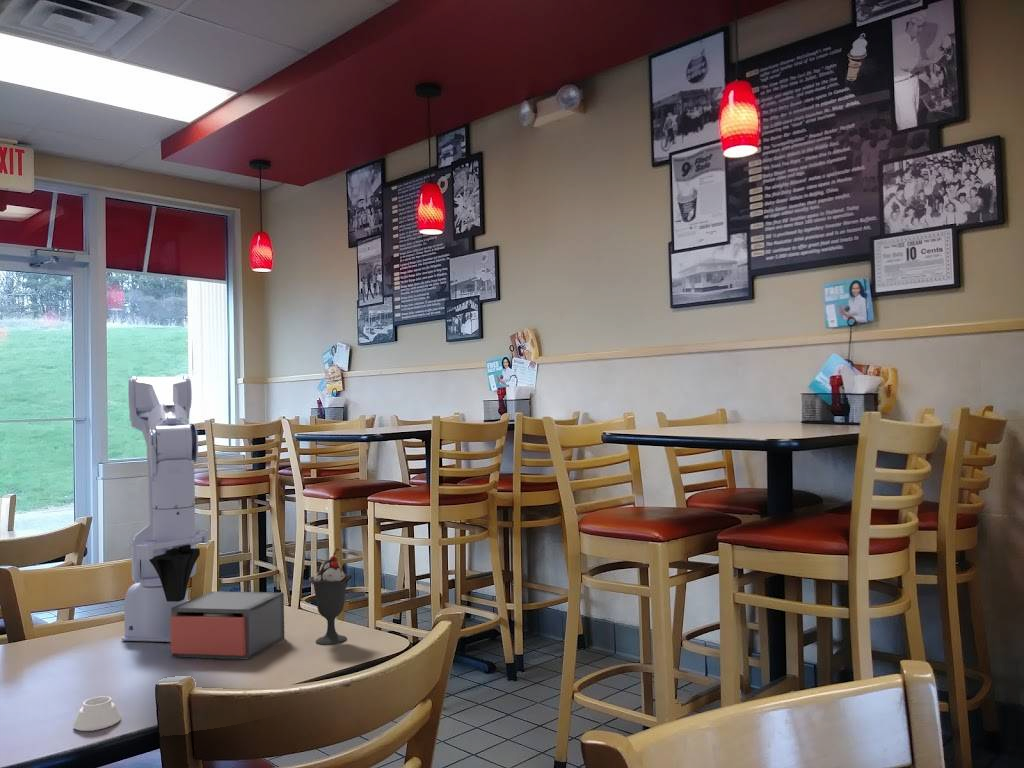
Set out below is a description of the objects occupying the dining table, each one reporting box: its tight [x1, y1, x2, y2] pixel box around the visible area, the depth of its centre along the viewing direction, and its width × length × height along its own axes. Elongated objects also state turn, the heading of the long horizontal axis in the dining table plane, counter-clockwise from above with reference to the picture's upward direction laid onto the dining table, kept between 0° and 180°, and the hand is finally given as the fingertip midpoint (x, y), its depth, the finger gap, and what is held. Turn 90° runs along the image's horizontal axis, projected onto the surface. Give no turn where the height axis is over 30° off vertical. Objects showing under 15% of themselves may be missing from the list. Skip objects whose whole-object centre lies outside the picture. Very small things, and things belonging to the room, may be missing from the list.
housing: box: [171, 591, 285, 660], centre depth 126 cm, size 13×11×7 cm
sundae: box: [308, 547, 352, 646], centre depth 128 cm, size 7×7×15 cm
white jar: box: [73, 695, 122, 732], centre depth 96 cm, size 5×3×5 cm
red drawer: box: [170, 615, 246, 656], centre depth 125 cm, size 12×11×6 cm
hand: (175, 600), depth 116 cm, fingers closed
